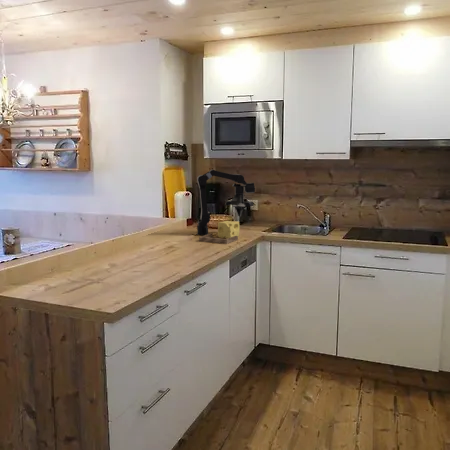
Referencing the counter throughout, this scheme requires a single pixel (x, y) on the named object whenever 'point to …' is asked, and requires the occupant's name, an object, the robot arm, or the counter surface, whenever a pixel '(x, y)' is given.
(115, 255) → the counter surface
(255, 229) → the counter surface
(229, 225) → the cheese
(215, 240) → the bay
